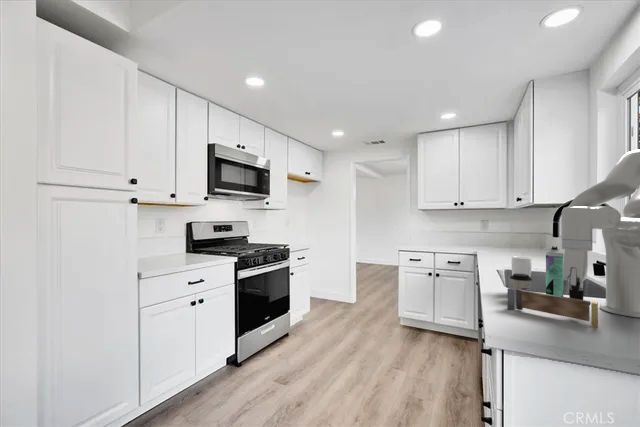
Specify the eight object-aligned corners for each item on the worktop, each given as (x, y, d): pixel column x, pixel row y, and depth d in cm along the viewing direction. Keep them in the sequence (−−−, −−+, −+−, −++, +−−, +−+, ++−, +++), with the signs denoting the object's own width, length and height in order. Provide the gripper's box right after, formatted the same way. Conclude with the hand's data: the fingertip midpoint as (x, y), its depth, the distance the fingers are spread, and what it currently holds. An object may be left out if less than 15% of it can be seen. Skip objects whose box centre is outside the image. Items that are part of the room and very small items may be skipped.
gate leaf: (515, 309, 102) (515, 289, 102) (517, 307, 103) (517, 288, 103) (589, 324, 88) (589, 302, 88) (590, 323, 89) (590, 300, 89)
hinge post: (509, 307, 105) (509, 287, 105) (515, 309, 104) (515, 288, 104) (507, 308, 104) (507, 288, 104) (514, 310, 102) (514, 289, 102)
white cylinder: (534, 296, 119) (534, 258, 119) (515, 295, 120) (515, 258, 120) (526, 292, 126) (526, 256, 126) (508, 291, 127) (508, 256, 127)
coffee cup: (505, 299, 115) (505, 273, 115) (519, 297, 117) (519, 272, 117) (522, 304, 108) (522, 277, 108) (536, 303, 110) (536, 276, 110)
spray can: (558, 295, 121) (558, 245, 121) (566, 299, 115) (566, 247, 115) (543, 294, 122) (543, 245, 122) (550, 298, 117) (550, 247, 117)
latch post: (592, 325, 89) (592, 301, 89) (597, 326, 88) (597, 302, 88) (591, 326, 87) (591, 302, 87) (596, 327, 87) (596, 303, 87)
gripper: (566, 242, 104) (566, 295, 104) (556, 245, 94) (556, 304, 94) (595, 244, 98) (595, 300, 98) (588, 247, 88) (588, 310, 88)
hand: (576, 302), depth 96 cm, fingers closed
